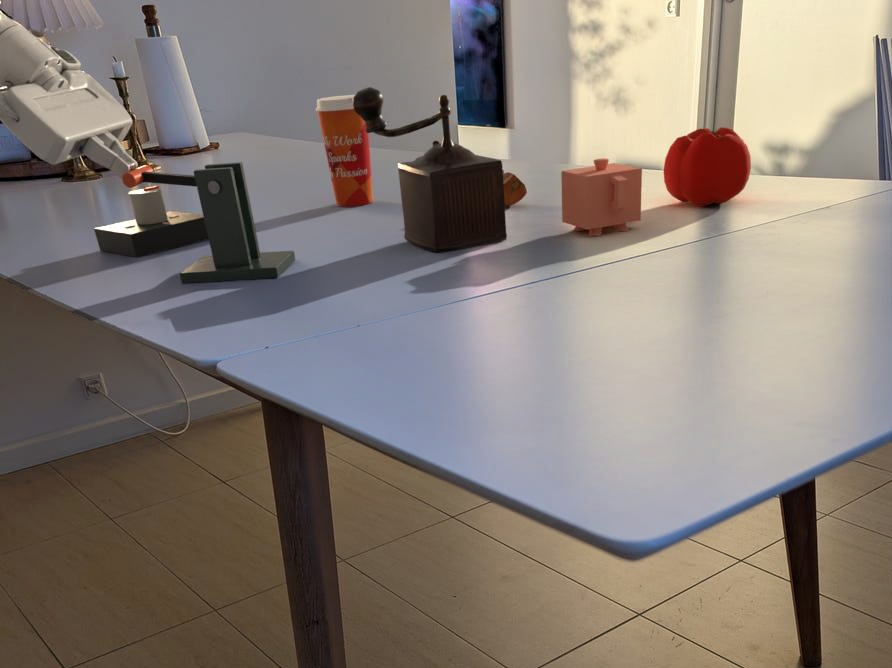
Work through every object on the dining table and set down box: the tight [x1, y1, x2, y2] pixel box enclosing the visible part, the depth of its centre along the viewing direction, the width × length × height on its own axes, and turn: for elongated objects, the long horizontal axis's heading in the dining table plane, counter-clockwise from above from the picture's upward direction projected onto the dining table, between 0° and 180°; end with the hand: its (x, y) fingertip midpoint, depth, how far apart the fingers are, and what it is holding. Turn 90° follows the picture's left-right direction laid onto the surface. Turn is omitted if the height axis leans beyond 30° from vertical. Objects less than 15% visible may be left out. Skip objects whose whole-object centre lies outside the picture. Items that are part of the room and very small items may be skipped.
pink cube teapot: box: [560, 157, 643, 237], centre depth 117 cm, size 8×12×8 cm, turn 23°
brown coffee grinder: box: [353, 86, 508, 254], centre depth 114 cm, size 16×11×18 cm
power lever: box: [121, 164, 236, 189], centre depth 108 cm, size 12×6×2 cm, turn 86°
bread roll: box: [503, 169, 528, 207], centre depth 136 cm, size 8×7×5 cm
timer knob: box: [128, 185, 168, 225], centre depth 129 cm, size 4×4×4 cm
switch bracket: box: [179, 161, 296, 284], centre depth 111 cm, size 12×9×12 cm
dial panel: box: [93, 210, 209, 258], centre depth 132 cm, size 13×10×3 cm
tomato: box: [663, 127, 752, 207], centre depth 126 cm, size 11×12×9 cm
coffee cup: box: [315, 94, 374, 208], centre depth 145 cm, size 8×8×15 cm
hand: (131, 172), depth 108 cm, fingers closed, pressing on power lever
